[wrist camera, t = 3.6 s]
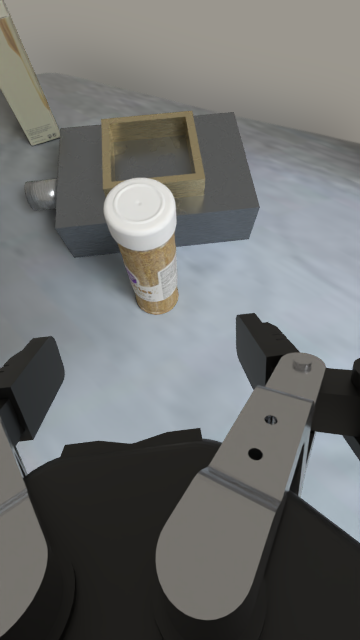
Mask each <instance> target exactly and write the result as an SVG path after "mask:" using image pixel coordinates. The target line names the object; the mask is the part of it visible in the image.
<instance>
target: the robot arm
mask: <svg viewBox="0 0 360 640" xmlns="http://www.w3.org/2000/svg"><path fill="white" fill-rule="evenodd" d="M236 349H237V355H238V359H239V361H240V363H241V365H242V367H243V369H244V371H245V373H246V376H247V378H248V380H249V382H250V384H251V386H252V388H253V390H254V391H253V393H252V394H251V396H250V398H249V399H248V401H247V403H246V404H245V406H244V408H243V409H242V411H241V413H240V414H239V416H238V418H237V419H236V421H235V423H234V424H233V426H232V428H231V429H230V431H229V433H228V434H227V436H226V438H225V439H224V441H223V443H221V442H218V441H214V440H209V439H202V435H201V430H200V428H196V429H188V430H180V431H172V432H166V433H163V434H160V435H157V436H154V437H151V438H148V439H145V440H142V441H140V442H137V443H133V444H127V443H116V442H106V441H93V442H85V443H77V444H69V445H65V446H64V449H63V451H62V454H61V457H59V458H56V459H54V460H52V461H49V462H47V463H45V464H43V465H42V466H40V467H38V468H37V469H35V470H33V471H32V472H30V473H29V474H27V471H26V469H25V467H24V464H23V462H22V459H21V457H20V455H19V452H18V450H17V448H16V445H17V443H18V442H19V441H27V440H33V439H34V437H35V435H36V433H37V431H38V429H39V427H40V426H41V424H42V422H43V420H44V418H45V416H46V414H47V412H48V410H49V408H50V406H51V404H52V402H53V400H54V398H55V396H56V394H57V392H58V390H59V388H60V386H61V384H62V382H63V380H64V375H65V372H64V366H63V363H62V360H61V356H60V353H59V350H58V347H57V344H56V341H55V339H54V338H53V337H52V336H48V337H40V338H33V339H32V340H31V341H30V342H29V343H28V344H27V345H26V347H25V348H24V349H23V350H22V351H20V352H19V353H17V354H16V355H14V356H13V357H11V358H10V359H9V360H8V361H7V362H6V363H5V365H4V367H2V368H1V369H0V640H360V543H359V542H358V541H357V540H355V539H354V538H353V537H351V536H350V535H349V534H347V533H346V532H345V531H343V530H342V529H341V528H339V527H338V526H337V525H336V524H334V523H333V522H332V521H330V520H329V519H328V518H326V517H325V516H324V515H322V514H321V513H320V512H318V511H317V510H316V509H315V508H313V507H312V506H311V505H309V504H308V503H307V502H305V501H304V500H303V499H301V493H302V488H303V482H304V478H305V473H306V469H307V466H308V462H309V458H310V454H311V450H312V447H313V443H314V439H315V435H316V432H324V433H331V434H339V435H343V437H344V438H345V440H346V441H347V443H348V444H349V446H350V447H351V449H352V450H353V452H354V453H355V455H356V456H357V458H358V459H359V460H360V358H359V359H357V360H355V362H354V364H353V369H352V370H342V369H330V368H326V366H325V363H324V362H323V361H322V360H321V359H319V358H318V357H316V356H314V355H311V354H307V353H300V352H299V351H298V350H297V349H296V347H295V346H294V345H293V344H292V343H291V342H290V341H289V340H288V339H287V337H286V336H285V335H284V334H282V332H281V331H280V330H279V329H278V327H276V326H274V325H272V324H270V323H268V322H266V323H262V322H261V320H260V319H259V318H258V317H257V316H256V314H255V313H250V314H241V315H237V317H236Z"/></svg>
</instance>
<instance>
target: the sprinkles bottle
mask: <svg viewBox="0 0 360 640" xmlns="http://www.w3.org/2000/svg"><path fill="white" fill-rule="evenodd" d="M103 210H104V217H105V220H106V223H107V225H108V228H109V231H110V233H111V235H112V237H113V238H114V239H115V241H116V242H117V243H118V246H119V249H120V252H121V254H122V257H123V260H124V265H125V268H126V270H127V273H128V276H129V279H130V282H131V285H132V288H133V290H134V292H135V294H136V300H137V303H138V305H139V306H140V308H141V309H142V310H144V311H145V312H147V313H150V314H154V315H157V314H163V313H166V312H168V311H170V310H171V309H173V307H174V306H175V305H176V303H177V301H178V296H179V294H178V289H177V259H176V245H175V235H174V232H175V228H176V204H175V199H174V196H173V194H172V193H171V191H170V190H169V189H168V188H167V187H166V186H165V185H164V184H162V183H160V182H158V181H156V180H153V179H149V178H132V179H129V180H126V181H123V182H121V183H119V184H118V185H116V186H115V187H114V188H113V189H112V190H111V191H110V192H109V193H108V195H107V197H106V199H105V201H104V208H103Z"/></svg>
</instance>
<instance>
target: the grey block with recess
mask: <svg viewBox="0 0 360 640" xmlns="http://www.w3.org/2000/svg"><path fill="white" fill-rule="evenodd" d="M101 123H102V125H93V126H82V127H71V128H61V129H60V146H59V165H58V179H49V180H39V181H29V182H26V183H25V194H26V197H27V200H28V202H29V204H30V206H31V207H32V209H33V210H46V209H56V221H55V229H56V231H57V232H58V234H59V235H60V237H61V238H62V240H63V241H64V243H65V244H66V246H67V247H68V249H69V250H70V252H71V253H72V255H73V256H74V258H75V257H84V256H94V255H103V254H112V253H121V252H120V249H119V246H118V243H117V242H116V241H115V239H114V238H113V237H112V235H111V233H110V231H109V228H108V225H107V223H106V220H105V217H104V210H103V208H104V201H105V199H106V197H107V195H108V193H109V192H110V191H111V190H112V189H113V188H114V187H115V186H116V185H118V184H119V183H121V182H123V181H126V180H129V179H132V178H149V179H153V180H156V181H158V182H160V183H162V184H164V185H165V186H166V187H167V188H168V189H169V190H170V191H171V193H172V194H173V196H174V199H175V204H176V228H175V232H174V235H175V245H176V247H178V246H188V245H197V244H206V243H216V242H225V241H235V240H244V239H249V237H250V234H251V231H252V228H253V225H254V222H255V219H256V216H257V214H258V211H259V208H260V207H259V203H258V199H257V196H256V192H255V188H254V185H253V181H252V177H251V174H250V170H249V166H248V163H247V159H246V155H245V152H244V148H243V144H242V141H241V137H240V133H239V130H238V126H237V122H236V119H235V115H234V112H230V113H220V114H209V115H199V116H193V113H192V111H184V112H174V113H163V114H152V115H142V116H131V117H120V118H110V119H101Z"/></svg>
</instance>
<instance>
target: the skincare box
mask: <svg viewBox="0 0 360 640" xmlns="http://www.w3.org/2000/svg"><path fill="white" fill-rule="evenodd" d="M0 89H1V91H2V93H3V94H4V96H5V98H6V100H7V102H8V104H9V105H10V107H11V109H12V111H13V113H14V114H15V116H16V118H17V120H18V122H19V124H20V125H21V127H22V129H23V131H24V133H25V134H26V136H27V138H28V140H29V142H30V144H31V145H32V146H33V145H36V144H40V143H43V142H47V141H50V140H53V139H56V138H59V137H60V131H59V128H58V126H57V123H56V121H55V119H54V116H53V114H52V112H51V109H50V107H49V105H48V102H47V100H46V98H45V95H44V93H43V91H42V88H41V86H40V84H39V82H38V79H37V77H36V74H35V72H34V70H33V68H32V65H31V63H30V61H29V58H28V56H27V54H26V51H25V49H24V46H23V44H22V42H21V39H20V37H19V35H18V32H17V30H16V28H15V25H14V24H13V21H12V18H11V16H10V14H9V12H8V9H7V7H6V4H5V2H4V0H0Z"/></svg>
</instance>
